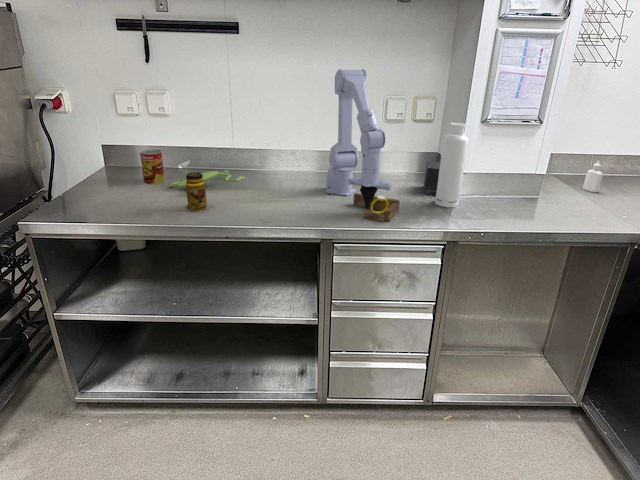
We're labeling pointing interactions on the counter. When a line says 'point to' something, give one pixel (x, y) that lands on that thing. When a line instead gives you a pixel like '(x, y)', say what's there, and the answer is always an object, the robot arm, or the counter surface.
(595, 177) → the eye dropper bottle
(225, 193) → the counter surface
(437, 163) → the small box
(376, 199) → the watch
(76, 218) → the counter surface
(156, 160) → the canned food
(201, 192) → the condiment
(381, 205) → the wooden u-shaped block
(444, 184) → the bottle
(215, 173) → the figurine
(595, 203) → the counter surface
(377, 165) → the robot arm
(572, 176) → the counter surface
